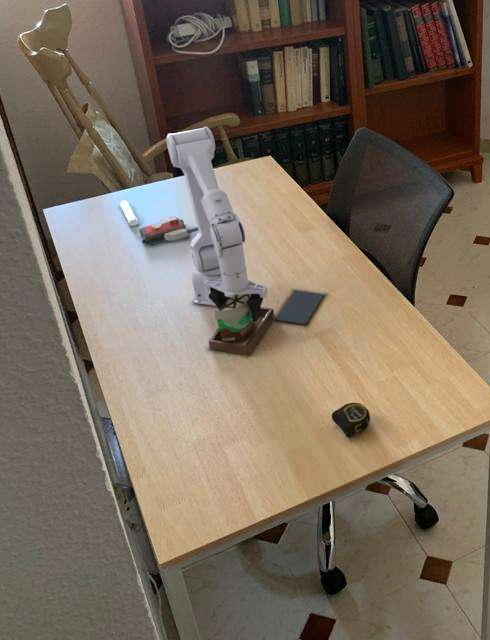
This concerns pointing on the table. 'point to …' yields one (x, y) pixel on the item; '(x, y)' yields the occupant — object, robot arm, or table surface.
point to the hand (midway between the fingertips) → (240, 317)
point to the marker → (129, 213)
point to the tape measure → (352, 418)
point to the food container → (234, 318)
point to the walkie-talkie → (165, 231)
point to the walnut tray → (245, 349)
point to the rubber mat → (299, 307)
